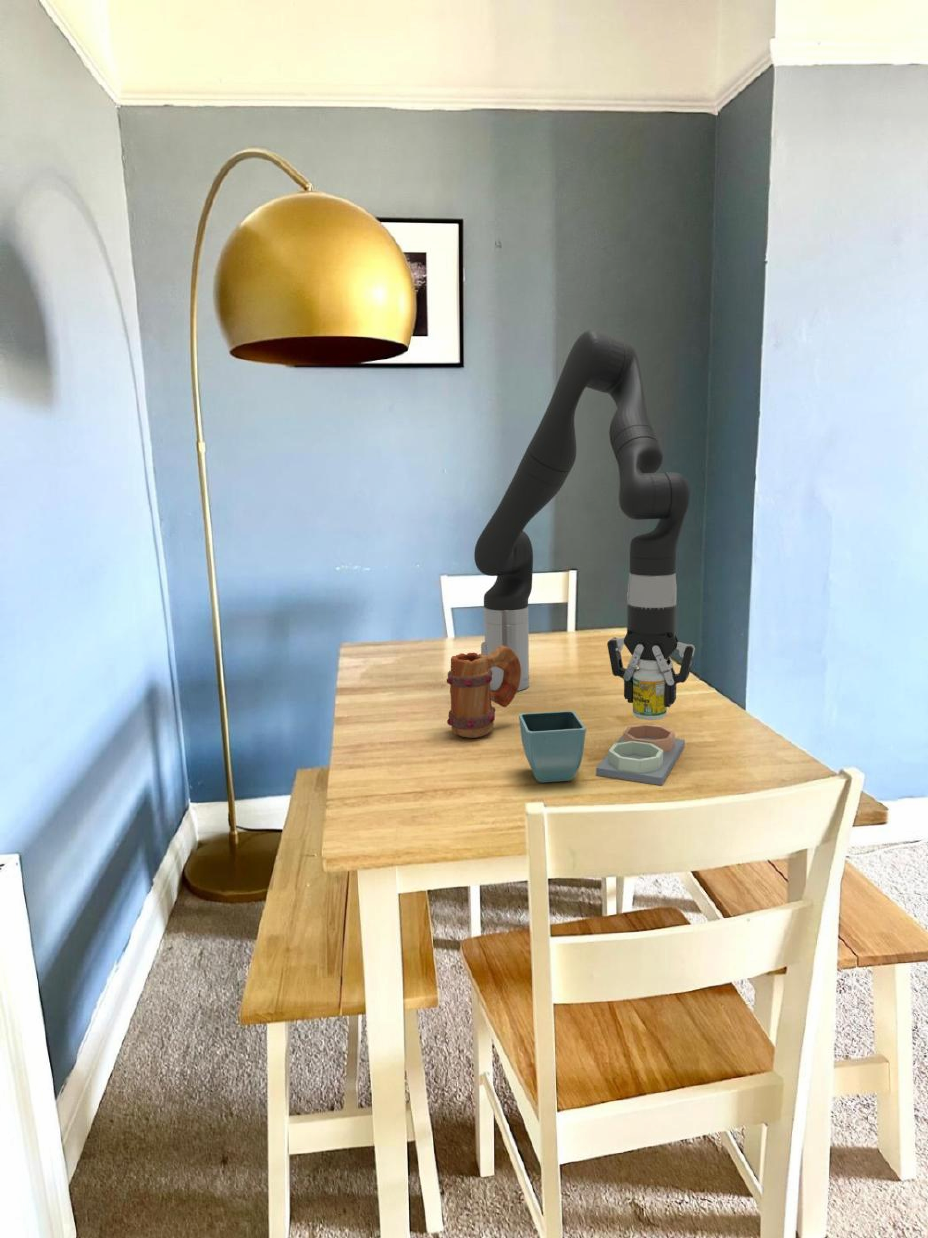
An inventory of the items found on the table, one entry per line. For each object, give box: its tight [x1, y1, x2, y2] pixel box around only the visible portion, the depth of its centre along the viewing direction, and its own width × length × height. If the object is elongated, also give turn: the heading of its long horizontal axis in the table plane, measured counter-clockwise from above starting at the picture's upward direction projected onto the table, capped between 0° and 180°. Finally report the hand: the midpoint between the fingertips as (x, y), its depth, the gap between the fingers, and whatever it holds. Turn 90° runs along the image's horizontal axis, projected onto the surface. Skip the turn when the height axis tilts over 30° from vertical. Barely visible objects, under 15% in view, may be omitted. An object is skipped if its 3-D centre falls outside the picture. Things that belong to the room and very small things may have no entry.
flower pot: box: [518, 710, 587, 784], centre depth 120 cm, size 9×9×9 cm
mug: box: [446, 645, 521, 739], centre depth 140 cm, size 15×8×15 cm, turn 118°
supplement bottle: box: [632, 659, 668, 721], centre depth 128 cm, size 5×5×10 cm
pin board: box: [595, 723, 686, 786], centre depth 126 cm, size 10×17×3 cm, turn 154°
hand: (649, 703), depth 128 cm, fingers closed on supplement bottle, 5 cm apart
